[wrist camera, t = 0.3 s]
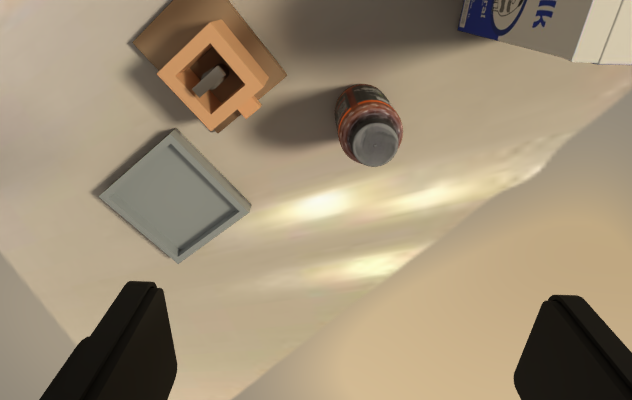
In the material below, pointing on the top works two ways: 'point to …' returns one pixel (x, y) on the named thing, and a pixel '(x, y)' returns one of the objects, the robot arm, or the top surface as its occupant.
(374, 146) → the supplement bottle
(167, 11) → the brown board with hook
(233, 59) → the ring
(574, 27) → the milk carton
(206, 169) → the tray
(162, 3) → the top surface
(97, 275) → the top surface
